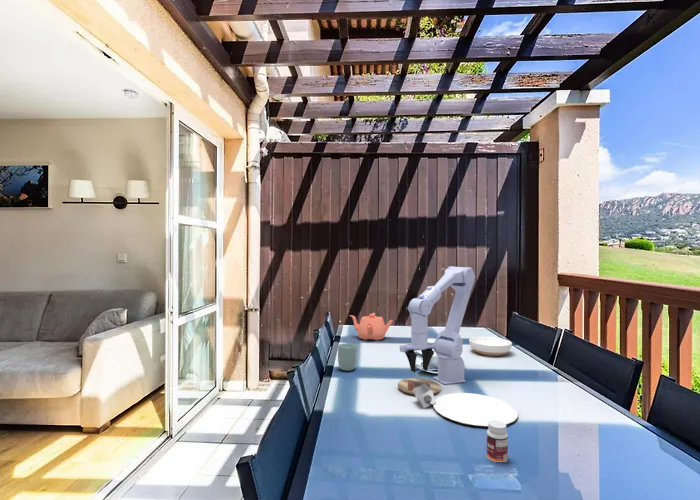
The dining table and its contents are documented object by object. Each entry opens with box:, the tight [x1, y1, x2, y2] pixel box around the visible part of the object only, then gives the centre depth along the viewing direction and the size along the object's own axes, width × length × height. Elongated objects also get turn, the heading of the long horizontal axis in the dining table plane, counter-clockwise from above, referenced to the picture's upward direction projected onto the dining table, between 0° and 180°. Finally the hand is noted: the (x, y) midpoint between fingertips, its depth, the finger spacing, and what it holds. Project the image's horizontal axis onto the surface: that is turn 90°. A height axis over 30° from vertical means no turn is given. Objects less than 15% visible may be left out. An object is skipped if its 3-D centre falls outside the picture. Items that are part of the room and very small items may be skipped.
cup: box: [337, 342, 358, 372], centre depth 163 cm, size 8×8×10 cm
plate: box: [432, 392, 519, 428], centre depth 121 cm, size 25×25×2 cm
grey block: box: [413, 383, 437, 409], centre depth 126 cm, size 4×4×6 cm
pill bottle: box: [486, 420, 509, 463], centre depth 94 cm, size 5×5×8 cm
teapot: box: [349, 312, 394, 342], centre depth 219 cm, size 18×18×14 cm
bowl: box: [468, 336, 513, 357], centre depth 190 cm, size 20×20×6 cm
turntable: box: [397, 377, 442, 395], centre depth 140 cm, size 15×15×4 cm
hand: (419, 370), depth 140 cm, fingers open, 4 cm apart
